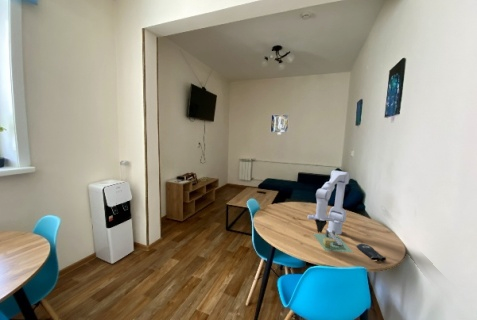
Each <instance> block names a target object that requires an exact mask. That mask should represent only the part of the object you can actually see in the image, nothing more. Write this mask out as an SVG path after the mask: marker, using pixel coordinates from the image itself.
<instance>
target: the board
mask: <svg viewBox="0 0 477 320" xmlns="http://www.w3.org/2000/svg"><path fill="white" fill-rule="evenodd" d="M328 233H329V231H328V230H327V229H325V233H324V234H323V233H313V236H314V237H315V239H316V240H317V241H318V243H319V245H320V246H321V247H322V249H323V250H324V251H326V252H327V251H329V252H338V253H339V252H341V253H354V251H353V250H352V249H351V248H350V247H349V246H348V244H346V243H345V241H343V239H342V238H341V237H340V236H338V234H335V231H333V230H332V233H333V234H334V235H335V236H336V237H337V238H338V239H339V240H340V241H341V242H342V245H333V244H332V243H331V244H330V248H329V247H324V245H323V239H324V238H329V237H331V236H330V235H329V234H328Z"/></svg>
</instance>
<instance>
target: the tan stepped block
mask: <svg viewBox="0 0 477 320" xmlns="http://www.w3.org/2000/svg"><path fill="white" fill-rule="evenodd" d="M331 242H336V241H335V239H329V238H324V239H323V245H324V247H329V248H330V244H331Z"/></svg>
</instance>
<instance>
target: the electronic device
mask: <svg viewBox="0 0 477 320" xmlns="http://www.w3.org/2000/svg"><path fill="white" fill-rule="evenodd" d="M356 249H358V251H360V252H361V253H363V254H364V255H365V256H367V257H368V258H369V259H377V261H376V262H380V261H381V262H384V261H386V260H387V257H386V256H383V255H381V253H379V252H378V251H377V250H375V248H373V247H372V246H370V245H369V244H365V243H358V244H357V245H356Z"/></svg>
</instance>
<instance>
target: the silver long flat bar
mask: <svg viewBox="0 0 477 320" xmlns="http://www.w3.org/2000/svg"><path fill="white" fill-rule="evenodd" d="M328 235H330V236H331V237H332V238H333V239H335V241H336V243H337V244H338V245H342V243H341V241H340V240H339V239H338V238H337V237H336V236H335V235H336V234H335V235H334V234H333V233H332V232H329V233H328Z"/></svg>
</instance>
